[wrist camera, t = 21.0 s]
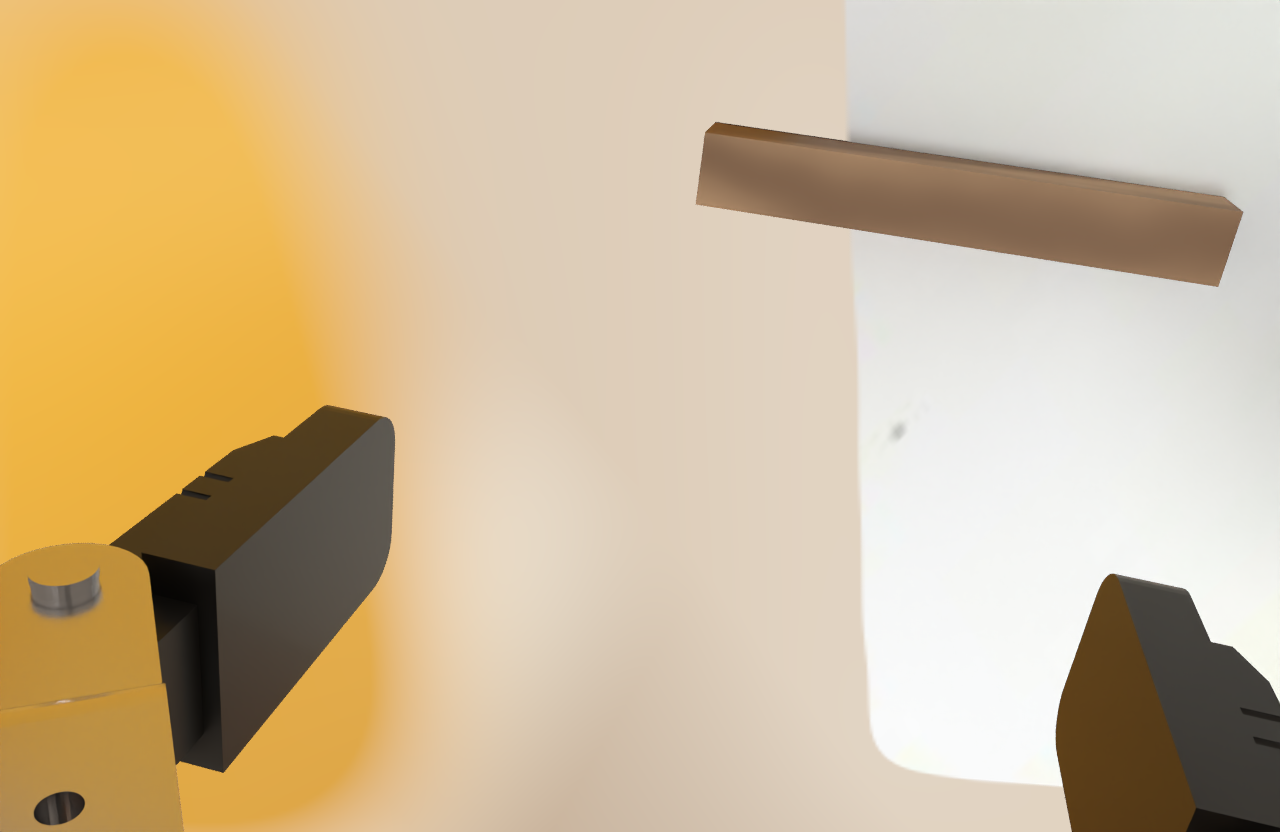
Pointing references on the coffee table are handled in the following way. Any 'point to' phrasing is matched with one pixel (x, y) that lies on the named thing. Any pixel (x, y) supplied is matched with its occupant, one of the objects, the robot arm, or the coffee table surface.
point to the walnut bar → (969, 203)
